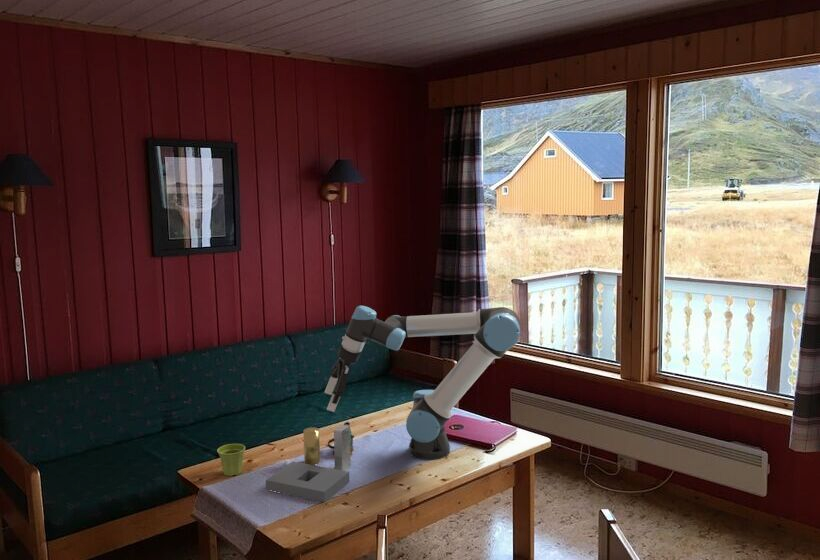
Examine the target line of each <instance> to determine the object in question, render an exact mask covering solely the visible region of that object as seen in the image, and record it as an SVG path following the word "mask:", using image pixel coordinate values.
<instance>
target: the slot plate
mask: <svg viewBox="0 0 820 560" xmlns="http://www.w3.org/2000/svg"><path fill="white" fill-rule="evenodd" d="M307 480H308V481H307ZM349 483H350V471H347V470H346V471H342V470H336V469H335V468H331V467H330V468H329V467H324V466H318V465H309V464H305V463H304V462H297V461H292V462H290V463H289V464H288V465H286V466H285V467H283V468H282V469H280V470H279V471H277V472H276V473H274V474H273V475H271V476H269V477H268V478H267V479H266V480H265V490H266V489H267V490H272V491H276V492H275V493H277V492H280V493H279V494H282V493H285V494H284V495H286V494H289V495H288V496H291V495H294V496H293V497H296V496H297V498H303V499H306V500H312V501H315V502H316V501H317V502H319V503H321V502H322V503H326V502H327V501H329V499H331V498H332V497H333V496H334V495H336V494H337V493H338V492H339V491H340V490H342V489H343V488H344V487H346V485H347V484H349ZM267 490H266V491H267ZM272 491H271V492H272Z"/></svg>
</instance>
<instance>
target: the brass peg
mask: <svg viewBox="0 0 820 560" xmlns="http://www.w3.org/2000/svg"><path fill="white" fill-rule="evenodd" d="M320 447H321V446H320V428H318V427H314V426H313V427H307V428H304V429H303V450H304V453H303V454H304V455H303V456H304V458H303V459H304V464H309V465H314V466H316V465H315V464H317V465H319V464H320V463H321V453H320V451H321V448H320ZM319 462H320V463H319ZM318 463H319V464H318Z"/></svg>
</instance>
